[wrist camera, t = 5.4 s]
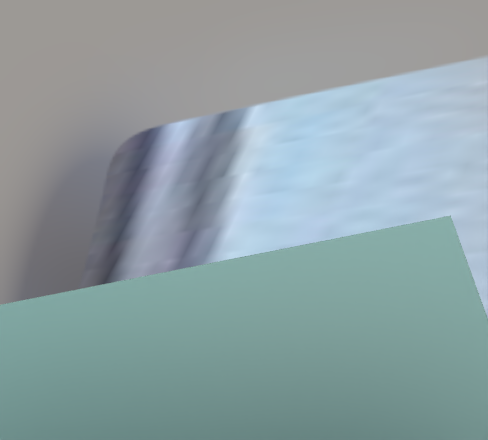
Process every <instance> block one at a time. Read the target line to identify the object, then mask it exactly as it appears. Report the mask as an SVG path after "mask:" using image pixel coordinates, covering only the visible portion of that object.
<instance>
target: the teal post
mask: <svg viewBox="0 0 488 440" xmlns="http://www.w3.org/2000/svg"><path fill="white" fill-rule="evenodd" d="M0 440H488V318H487V315H486V313H485V310H484V307H483V304H482V302H481V299H480V296H479V293H478V290H477V288H476V285H475V282H474V279H473V277H472V274H471V271H470V268H469V266H468V263H467V260H466V257H465V255H464V252H463V249H462V246H461V243H460V241H459V238H458V235H457V232H456V230H455V227H454V224H453V221H452V219H451V216H447V217H442V218H437V219H432V220H427V221H422V222H417V223H412V224H406V225H401V226H396V227H391V228H386V229H381V230H376V231H371V232H366V233H361V234H356V235H351V236H346V237H341V238H336V239H331V240H326V241H321V242H316V243H310V244H305V245H300V246H295V247H290V248H285V249H280V250H275V251H270V252H265V253H260V254H255V255H250V256H245V257H240V258H235V259H230V260H225V261H220V262H214V263H209V264H204V265H199V266H194V267H189V268H184V269H179V270H174V271H169V272H164V273H159V274H154V275H149V276H144V277H139V278H134V279H129V280H124V281H118V282H113V283H108V284H103V285H98V286H93V287H88V288H83V289H78V290H73V291H68V292H63V293H58V294H53V295H48V296H43V297H38V298H33V299H28V300H22V301H18V302H12V303H7V304H2V305H0Z"/></svg>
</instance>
